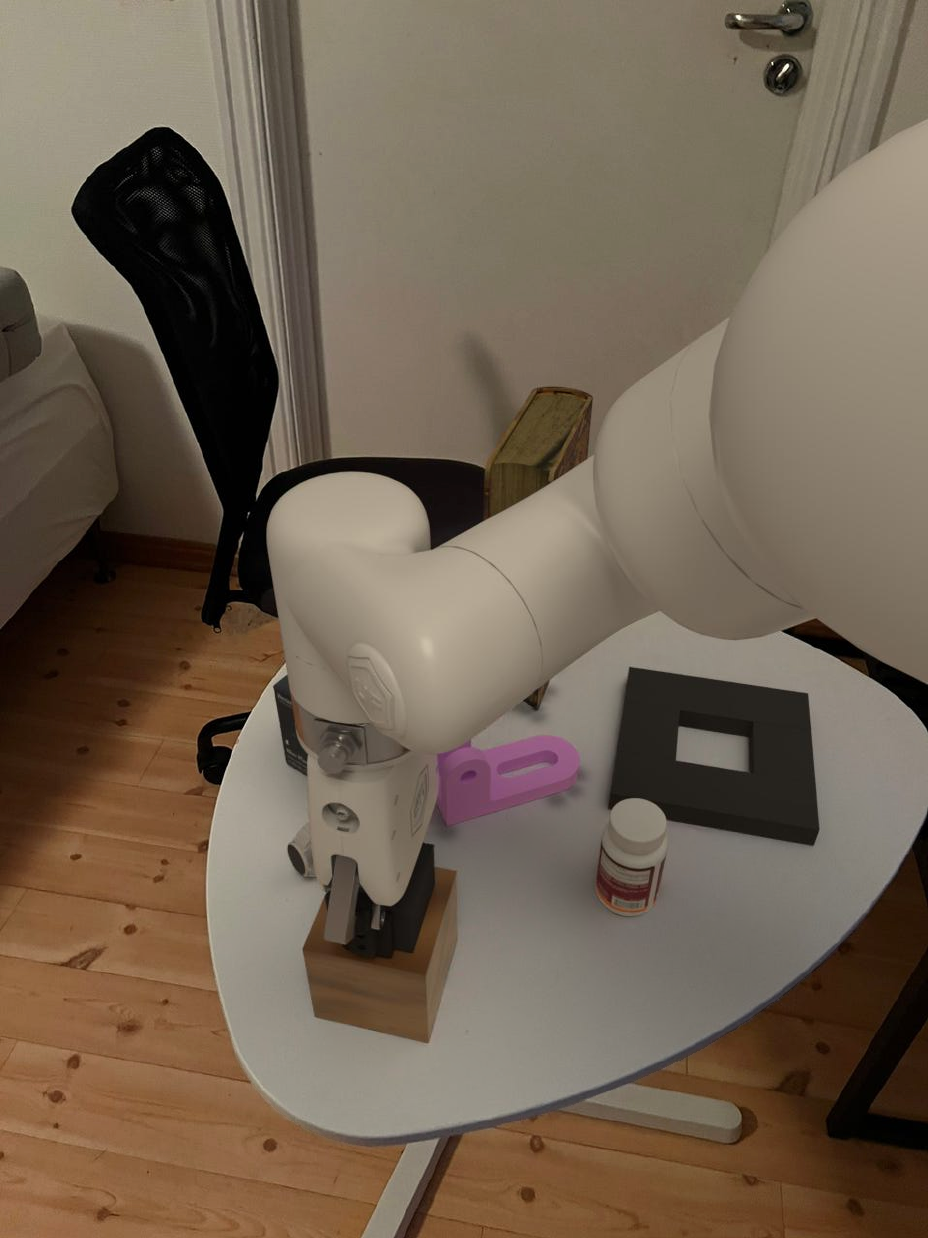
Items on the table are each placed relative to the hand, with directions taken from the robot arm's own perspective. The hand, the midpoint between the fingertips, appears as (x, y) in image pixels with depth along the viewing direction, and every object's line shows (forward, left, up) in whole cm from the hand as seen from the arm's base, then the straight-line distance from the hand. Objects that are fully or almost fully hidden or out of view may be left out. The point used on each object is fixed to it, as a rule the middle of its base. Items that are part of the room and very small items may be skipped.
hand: (383, 907), depth 60 cm
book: (+37, -3, -8) cm, 38 cm away
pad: (0, 0, 0) cm, 0 cm away
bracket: (+20, -4, -8) cm, 22 cm away
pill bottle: (+11, -15, -8) cm, 21 cm away
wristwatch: (+8, +8, -8) cm, 14 cm away
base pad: (+27, -21, -8) cm, 35 cm away
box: (+18, +10, -8) cm, 22 cm away
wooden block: (0, 0, -8) cm, 8 cm away
